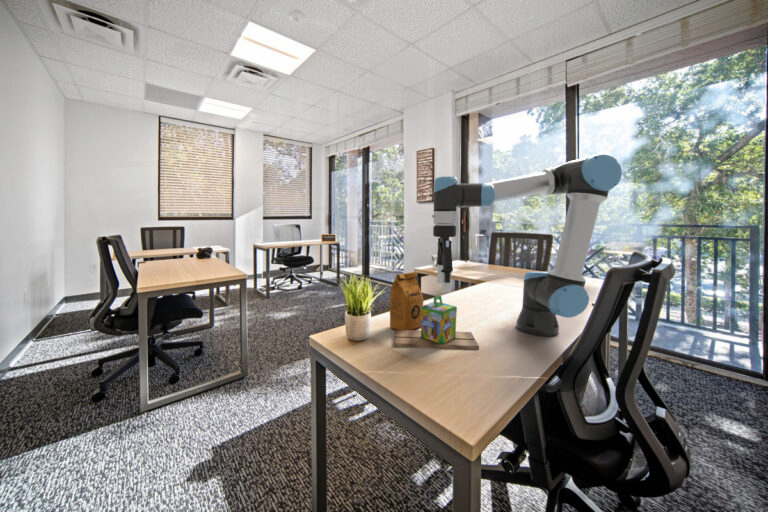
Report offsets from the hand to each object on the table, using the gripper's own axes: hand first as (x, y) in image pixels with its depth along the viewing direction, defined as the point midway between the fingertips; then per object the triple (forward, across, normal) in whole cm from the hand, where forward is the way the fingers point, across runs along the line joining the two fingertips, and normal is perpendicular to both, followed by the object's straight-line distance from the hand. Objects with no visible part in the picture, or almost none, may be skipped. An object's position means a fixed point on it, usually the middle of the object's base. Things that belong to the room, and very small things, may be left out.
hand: (443, 287), depth 108 cm
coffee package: (+20, -13, -12) cm, 27 cm away
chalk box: (+18, 0, -2) cm, 18 cm away
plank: (+19, -4, -3) cm, 20 cm away
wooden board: (+20, 0, -3) cm, 20 cm away
